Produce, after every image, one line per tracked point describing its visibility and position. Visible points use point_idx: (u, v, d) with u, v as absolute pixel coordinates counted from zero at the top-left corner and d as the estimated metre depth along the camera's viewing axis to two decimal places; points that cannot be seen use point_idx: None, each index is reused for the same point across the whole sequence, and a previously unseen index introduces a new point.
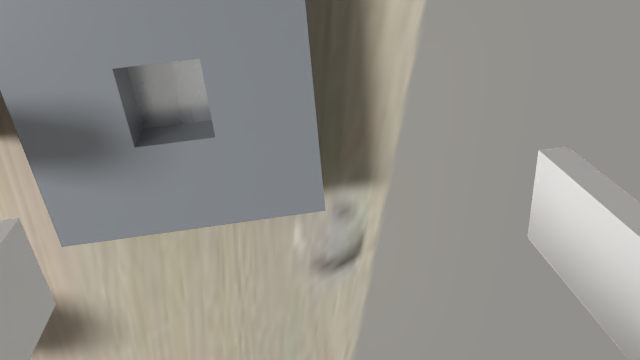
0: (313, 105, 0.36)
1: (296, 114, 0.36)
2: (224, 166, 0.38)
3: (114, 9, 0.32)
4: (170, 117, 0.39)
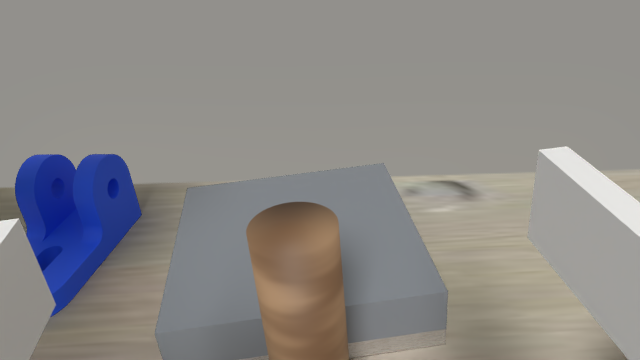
0: (300, 174, 0.53)
1: (306, 179, 0.52)
2: (347, 203, 0.47)
3: (216, 252, 0.42)
4: None
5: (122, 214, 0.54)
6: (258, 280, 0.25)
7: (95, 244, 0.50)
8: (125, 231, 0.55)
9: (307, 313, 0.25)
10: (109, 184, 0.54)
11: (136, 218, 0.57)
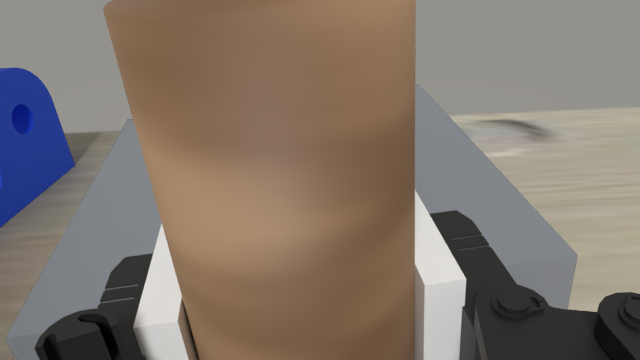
0: None
1: None
2: None
3: (154, 199, 0.25)
4: None
5: (40, 160, 0.38)
6: (150, 166, 0.08)
7: None
8: (45, 185, 0.38)
9: (313, 273, 0.07)
10: (19, 115, 0.37)
11: (65, 169, 0.40)
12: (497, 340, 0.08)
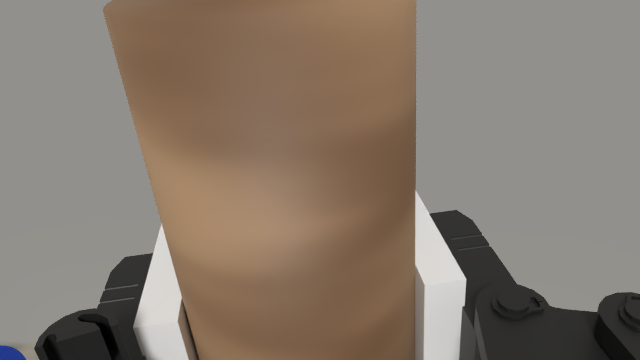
0: None
1: None
2: None
3: None
4: None
5: None
6: (150, 167, 0.08)
7: None
8: None
9: (313, 274, 0.07)
10: None
11: None
12: (497, 340, 0.08)
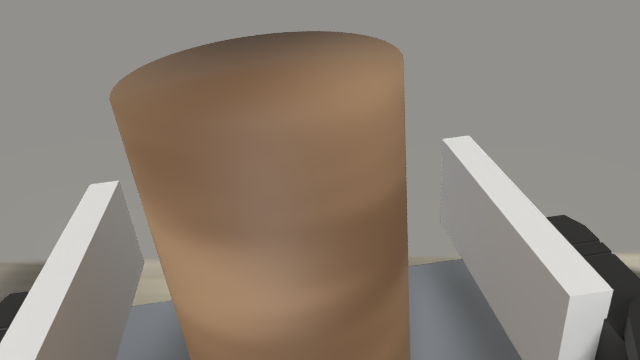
0: None
1: None
2: None
3: None
4: None
5: None
6: (156, 239, 0.08)
7: None
8: None
9: (310, 340, 0.08)
10: None
11: None
12: None
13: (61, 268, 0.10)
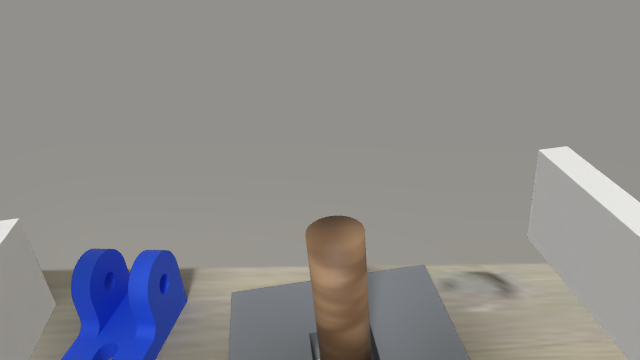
0: None
1: None
2: (394, 318, 0.48)
3: None
4: None
5: (171, 306, 0.56)
6: (313, 267, 0.39)
7: (149, 341, 0.52)
8: (174, 321, 0.57)
9: (345, 288, 0.39)
10: None
11: (182, 305, 0.59)
12: None
13: None
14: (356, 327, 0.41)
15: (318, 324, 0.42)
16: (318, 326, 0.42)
